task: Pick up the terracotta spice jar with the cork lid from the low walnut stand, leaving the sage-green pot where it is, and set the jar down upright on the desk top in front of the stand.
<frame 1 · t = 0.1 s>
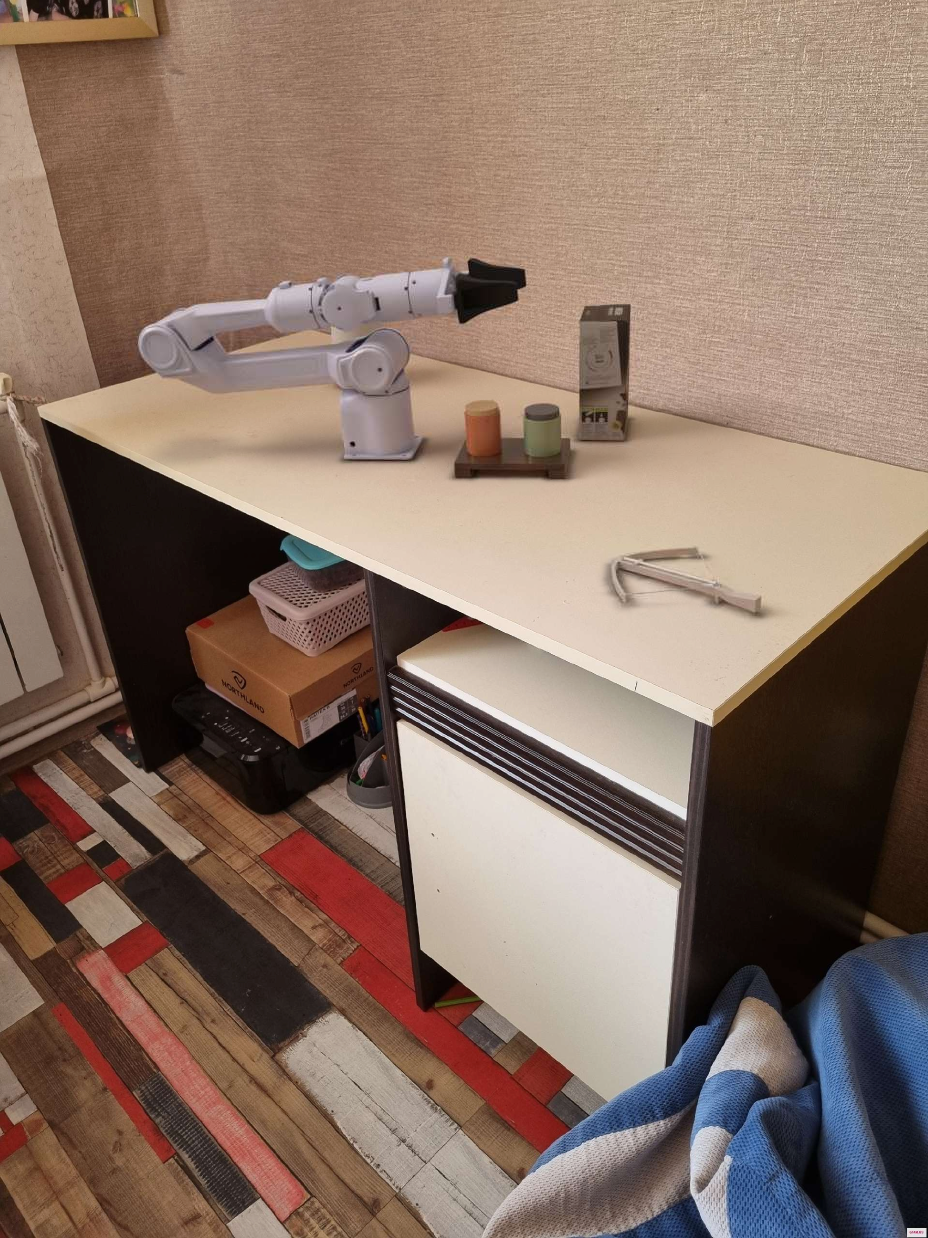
hand: (521, 284, 116), 22 cm above the table, tool horizontal, fingers open, 7 cm apart
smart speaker: (363, 383, 158), on the table
coffee box: (604, 430, 132), on the table
stand: (513, 464, 123), on the table
crossbow: (683, 589, 93), on the table
sage pot: (542, 450, 122), point 2 cm above the table, touching stand
spice jar: (484, 450, 123), point 2 cm above the table, touching stand
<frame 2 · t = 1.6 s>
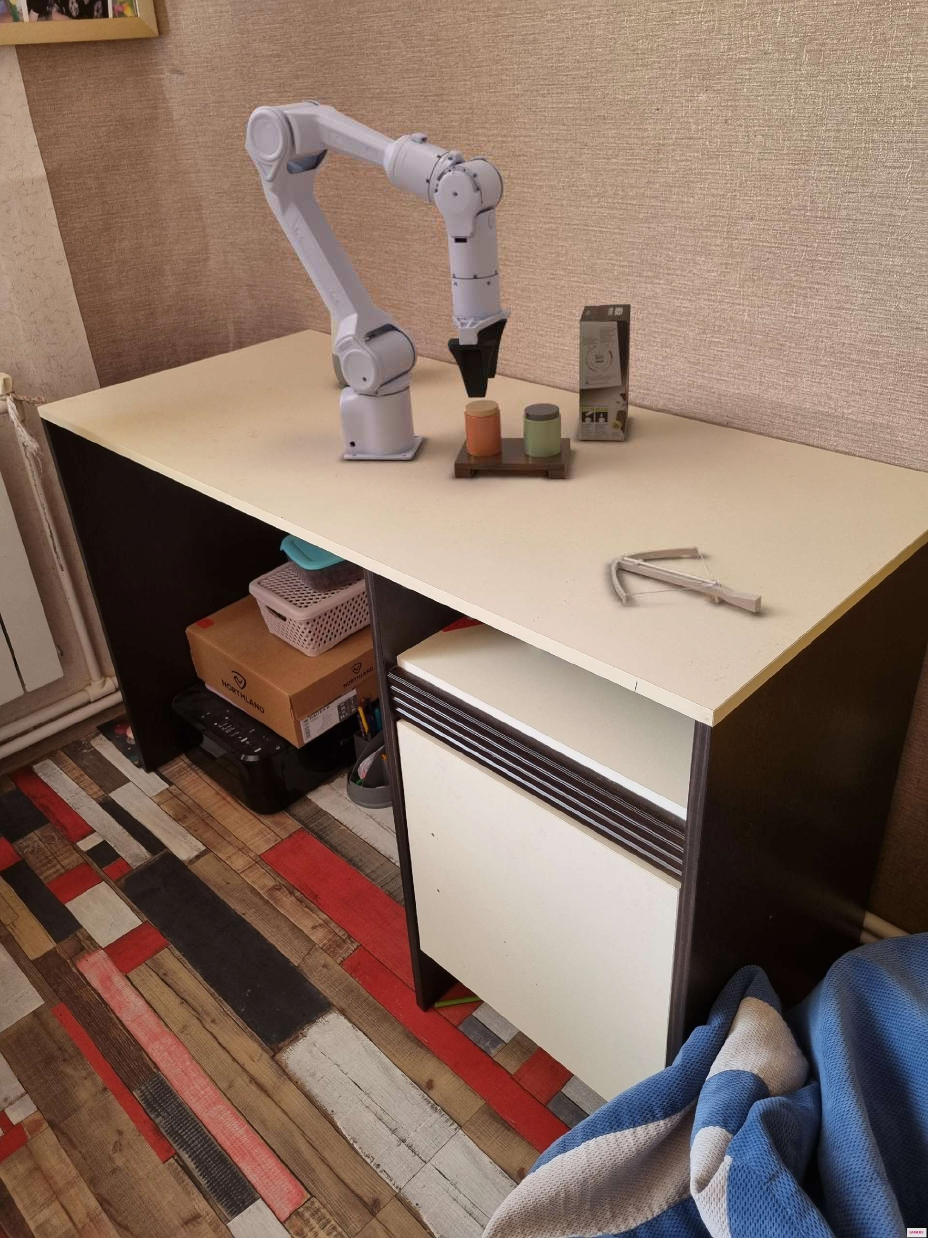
hand: (482, 386, 119), 10 cm above the table, tool pointing down, fingers open, 7 cm apart
nothing on the table moved.
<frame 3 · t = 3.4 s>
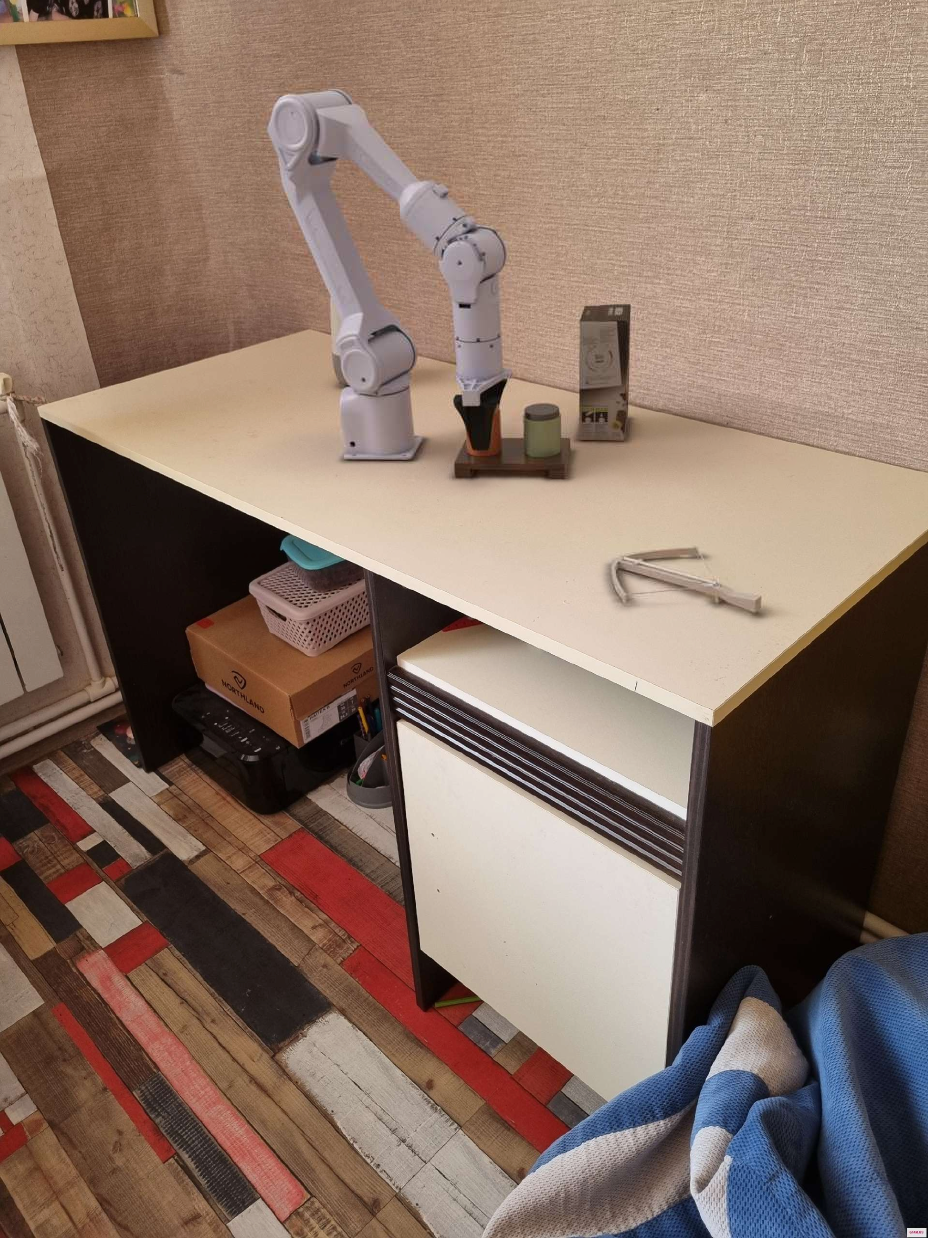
hand: (483, 441, 122), 3 cm above the table, tool pointing down, fingers closed on spice jar, 4 cm apart
spice jar: (484, 449, 123), point 2 cm above the table, touching gripper, stand
everything else where it was.
when the fingers open (1 cm above the table, at t = 8.2 s): spice jar stays where it is, on the table.
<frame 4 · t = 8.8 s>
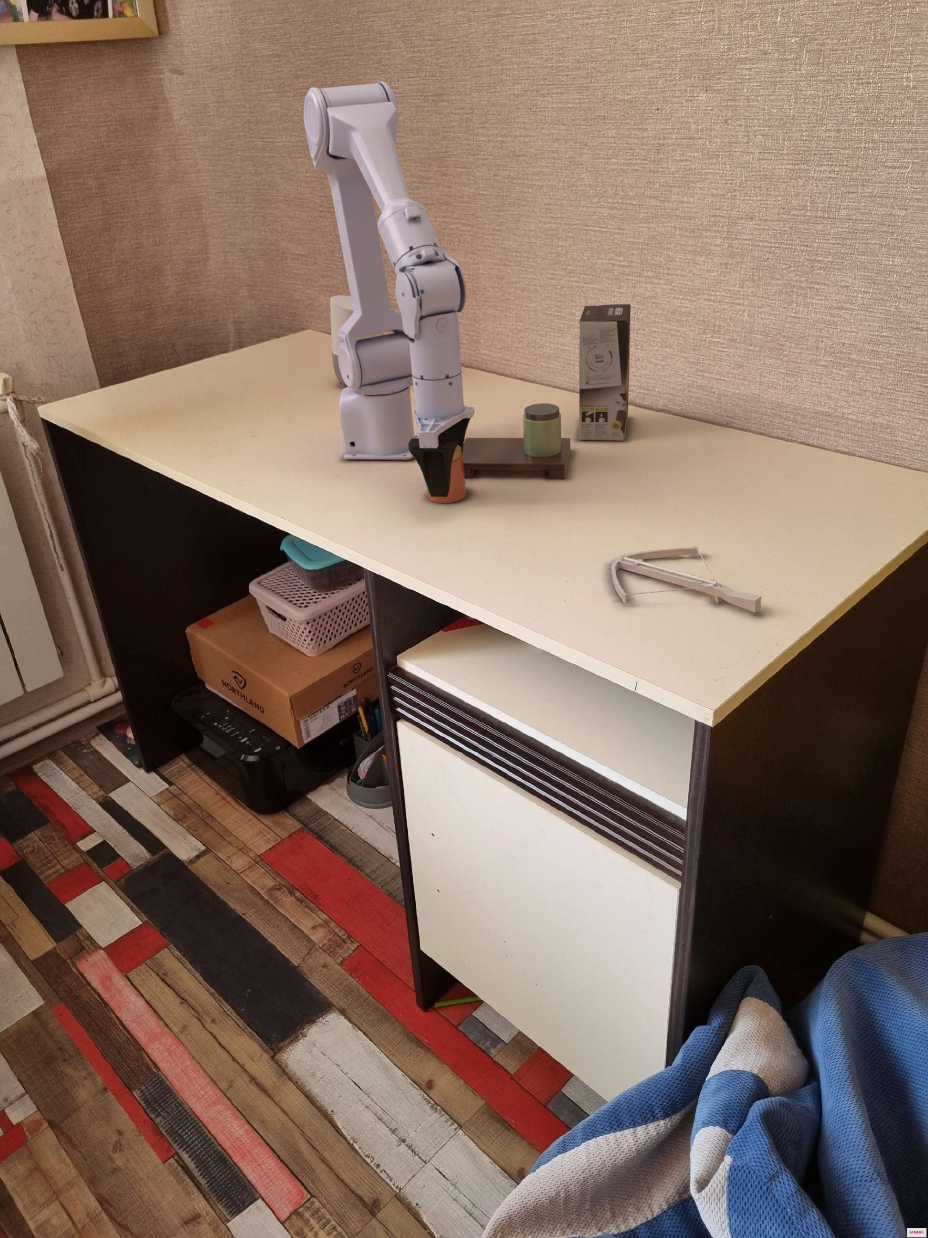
hand: (445, 482, 115), 2 cm above the table, tool pointing down, fingers open, 7 cm apart
spice jar: (447, 495, 116), on the table
everything else where it was.
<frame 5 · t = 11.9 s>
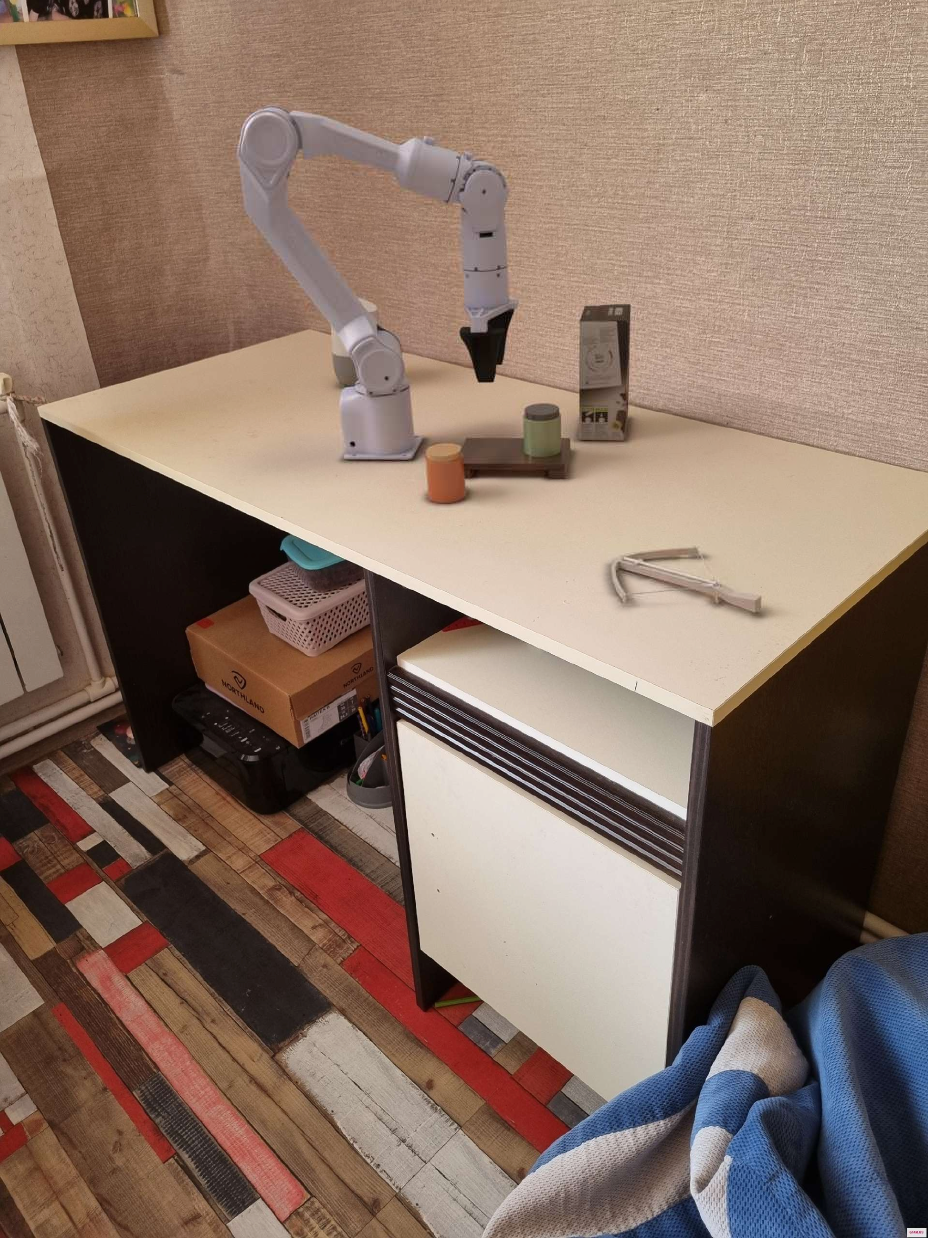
hand: (490, 372, 127), 9 cm above the table, tool pointing down, fingers open, 7 cm apart
nothing on the table moved.
at the end: spice jar inside the target area (0.1 cm from its centre), on the table; spice jar tilted 0°; spice jar touching table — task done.
